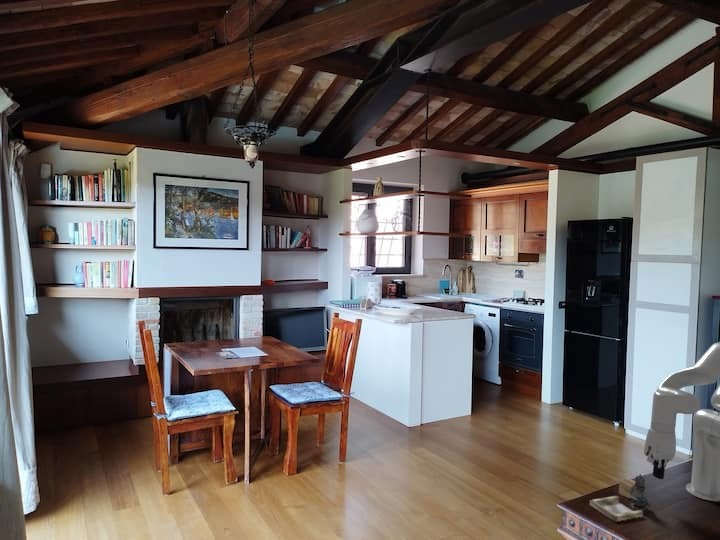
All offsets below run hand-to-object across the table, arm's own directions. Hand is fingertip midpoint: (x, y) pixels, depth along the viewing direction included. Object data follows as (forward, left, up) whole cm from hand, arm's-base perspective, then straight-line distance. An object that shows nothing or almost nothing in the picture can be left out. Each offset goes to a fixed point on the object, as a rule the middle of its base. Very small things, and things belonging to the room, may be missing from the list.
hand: (658, 477), depth 186 cm
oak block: (+4, -8, -10) cm, 13 cm away
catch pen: (+18, 0, -10) cm, 21 cm away
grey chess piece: (+8, 0, -10) cm, 13 cm away
